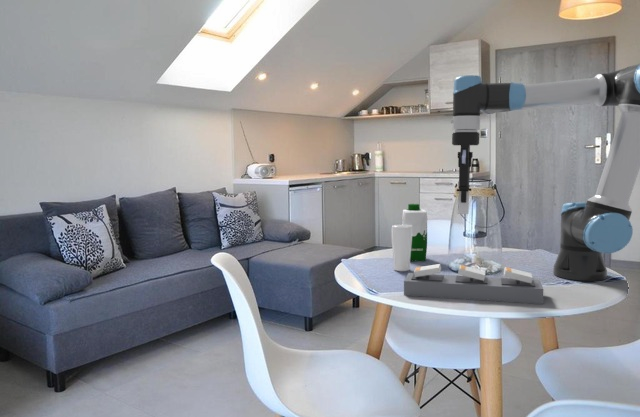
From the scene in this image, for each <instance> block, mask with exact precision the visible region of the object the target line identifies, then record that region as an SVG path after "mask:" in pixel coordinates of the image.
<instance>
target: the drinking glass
mask: <svg viewBox="0 0 640 417" xmlns="http://www.w3.org/2000/svg"><path fill="white" fill-rule="evenodd" d="M411 246H412V226H411V225H405V224H392V226H391V247H392V257H393V269H394V270H395V271H396V272H408V271H410V270H411V261H410V257H411Z"/></svg>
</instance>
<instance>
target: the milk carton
mask: <svg viewBox="0 0 640 417" xmlns="http://www.w3.org/2000/svg"><path fill="white" fill-rule="evenodd" d="M402 224H405V225H411V226H412V246H411V257H410V262H426V260H427V249H428V212H427V211H426V210H425V209H422V208H421V209H420V204H419V203H408V206H407V208H406V209H402Z"/></svg>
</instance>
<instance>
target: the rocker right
mask: <svg viewBox="0 0 640 417" xmlns="http://www.w3.org/2000/svg"><path fill="white" fill-rule="evenodd" d="M503 278H512V279H516V280H520V281H524V282H528V283H532V279H533V278H534V277H533V274H532V272H527V271H524V270H520V269H516V268H512V267H508V266H504V269H503Z"/></svg>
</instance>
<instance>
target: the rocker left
mask: <svg viewBox="0 0 640 417" xmlns="http://www.w3.org/2000/svg"><path fill="white" fill-rule="evenodd" d="M441 271H442V266H441V263H437V264H432V265H425V266H417V267H415V269H414V270H413V273H414V274H415V277H419V276H425V275H432V274H440V273H441Z"/></svg>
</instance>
